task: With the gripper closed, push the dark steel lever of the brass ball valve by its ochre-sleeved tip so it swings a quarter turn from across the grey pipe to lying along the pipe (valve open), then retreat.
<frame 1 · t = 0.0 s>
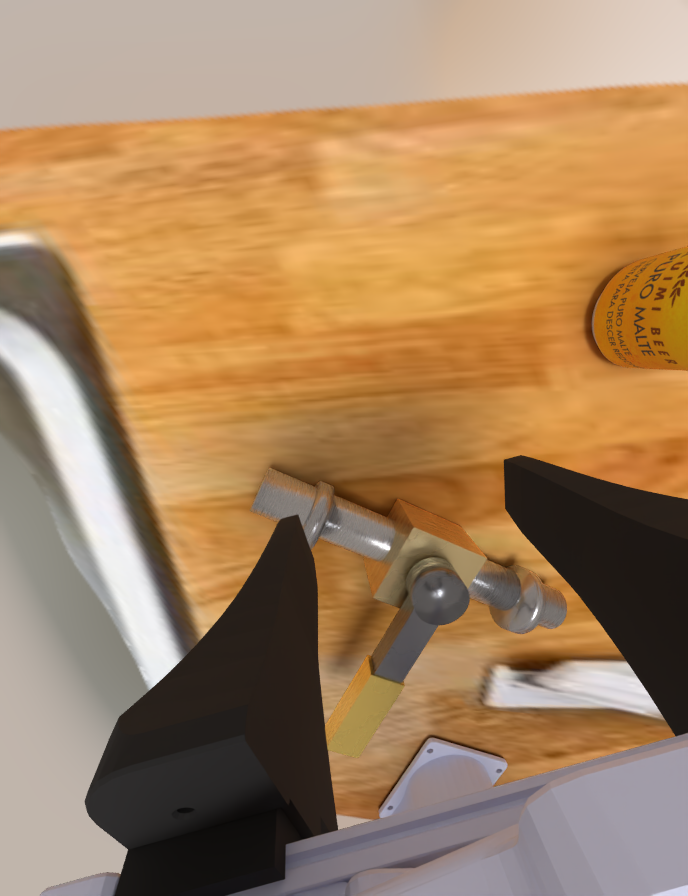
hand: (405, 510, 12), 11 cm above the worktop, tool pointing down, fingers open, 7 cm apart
lever: (392, 661, 21), point 5 cm above the worktop, hinge at 0.0°
valve body: (411, 542, 24), on the worktop
beer can: (627, 316, 22), on the worktop
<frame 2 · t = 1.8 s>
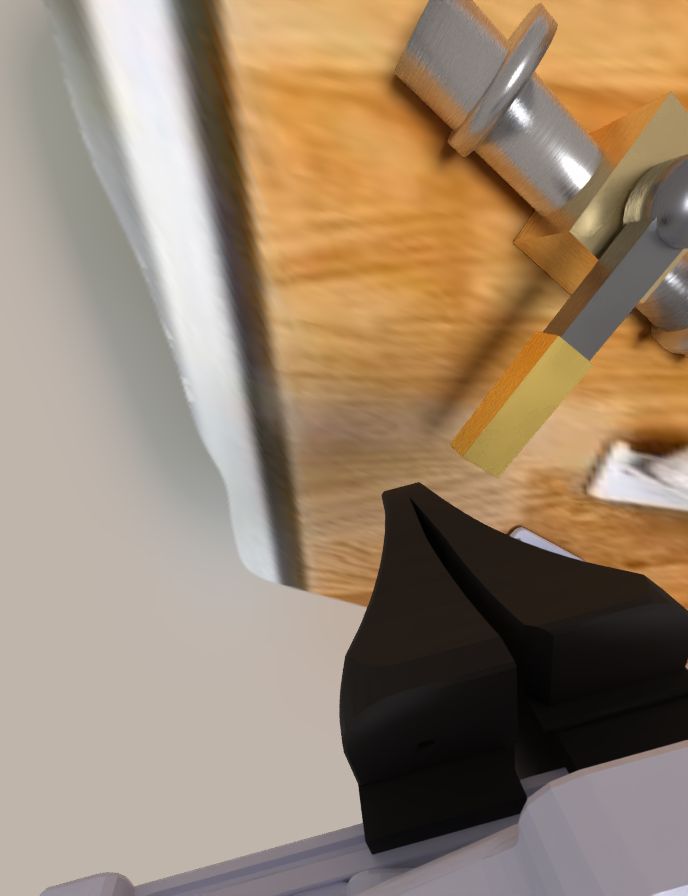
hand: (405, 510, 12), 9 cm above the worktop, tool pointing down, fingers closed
lever: (579, 331, 14), point 5 cm above the worktop, hinge at 0.0°
valve body: (581, 225, 17), on the worktop
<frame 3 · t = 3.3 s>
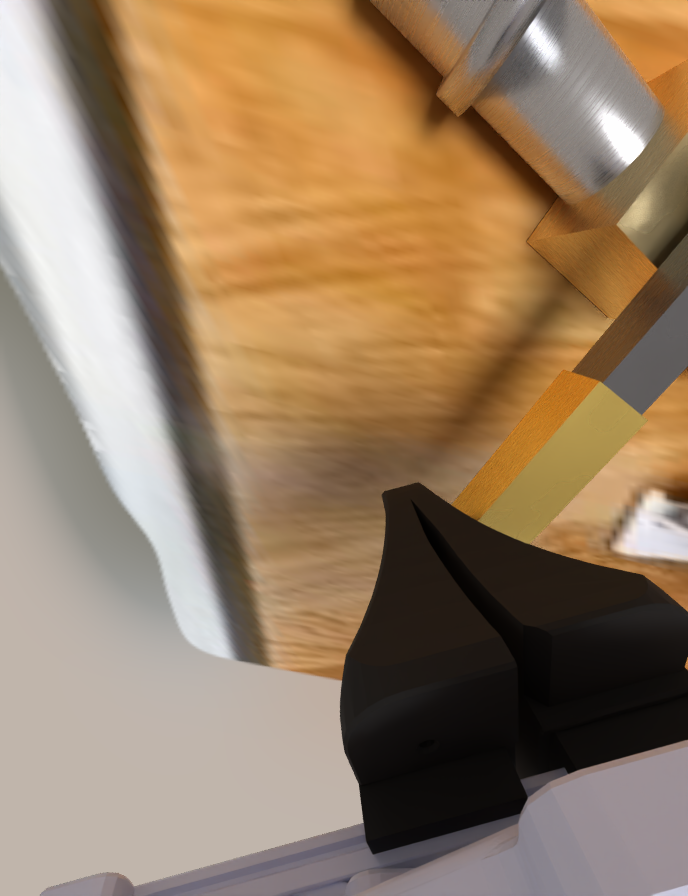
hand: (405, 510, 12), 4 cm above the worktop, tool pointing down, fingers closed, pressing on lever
lever: (627, 372, 10), point 5 cm above the worktop, hinge at 0.0°, touching gripper
valve body: (619, 218, 13), on the worktop
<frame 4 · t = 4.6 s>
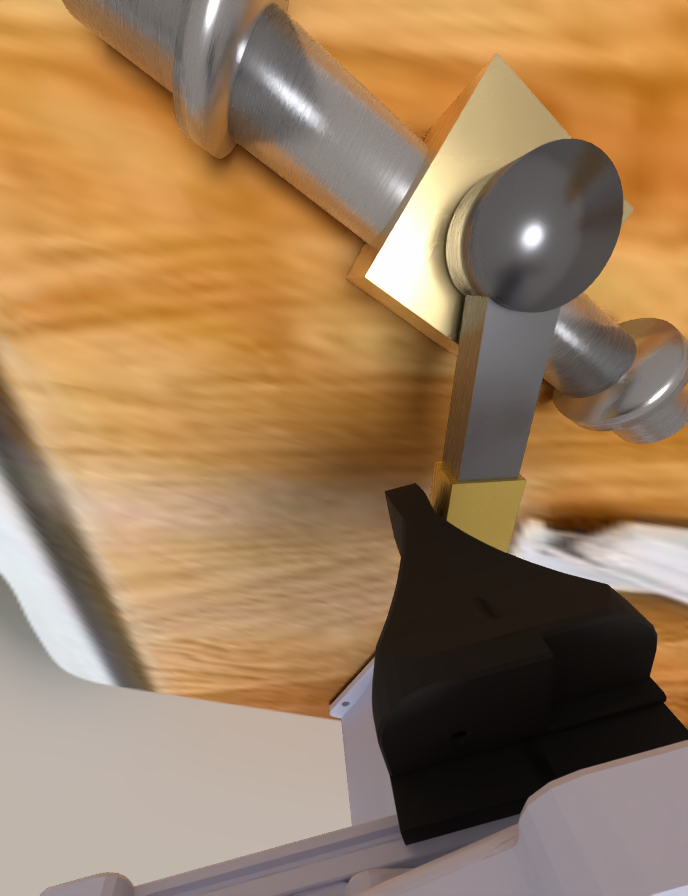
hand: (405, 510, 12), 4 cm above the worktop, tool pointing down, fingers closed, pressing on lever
lever: (484, 449, 10), point 5 cm above the worktop, hinge at 32.1°, touching gripper
valve body: (442, 254, 13), on the worktop
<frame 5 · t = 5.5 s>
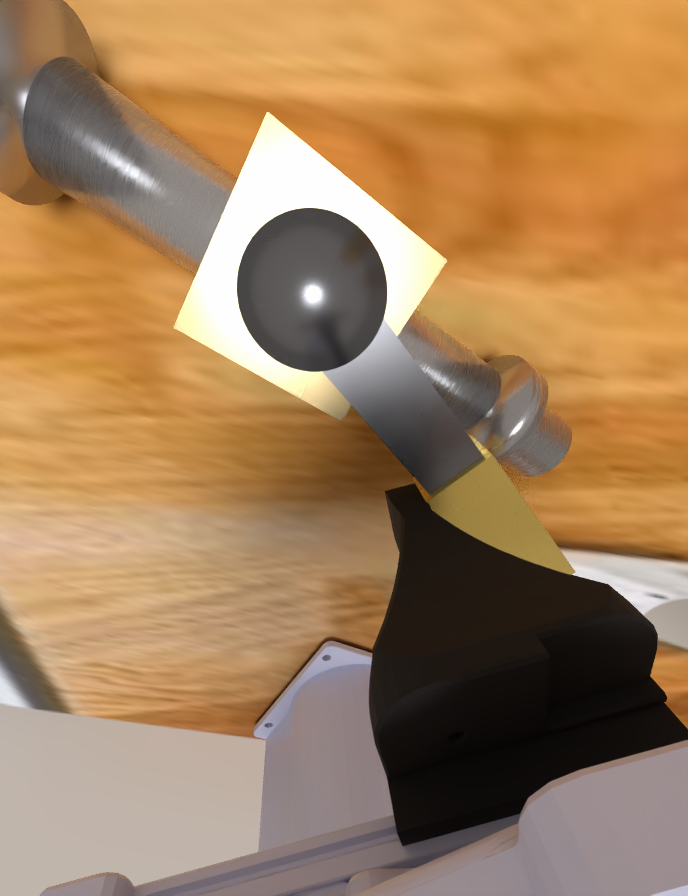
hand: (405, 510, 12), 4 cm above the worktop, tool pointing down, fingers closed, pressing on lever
lever: (436, 451, 10), point 5 cm above the worktop, hinge at 72.2°, touching gripper
valve body: (307, 290, 12), on the worktop
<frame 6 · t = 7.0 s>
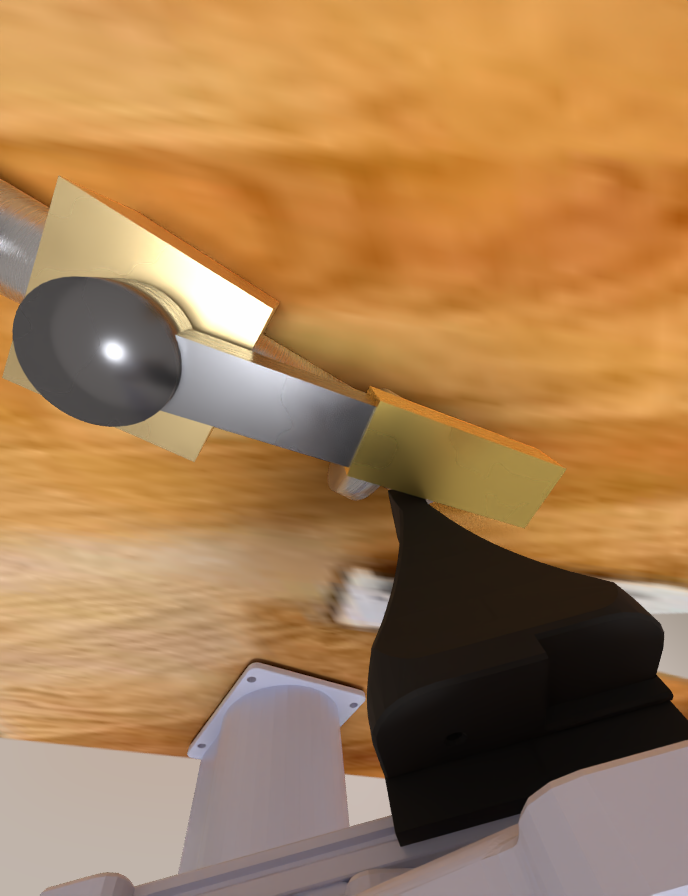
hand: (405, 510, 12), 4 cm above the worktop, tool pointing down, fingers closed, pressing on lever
lever: (333, 422, 9), point 5 cm above the worktop, hinge at 100.2°, touching gripper
valve body: (183, 326, 13), on the worktop
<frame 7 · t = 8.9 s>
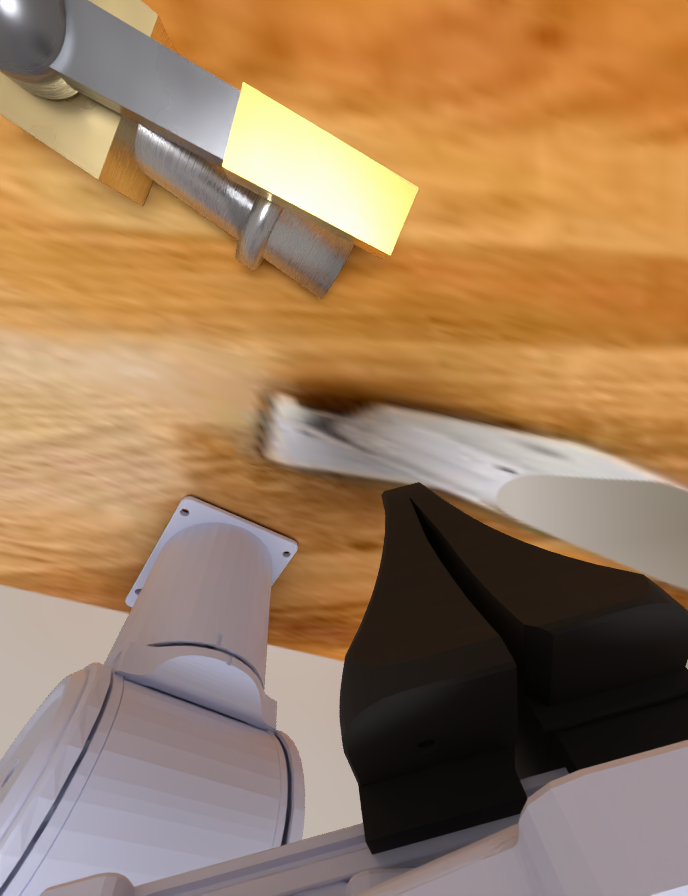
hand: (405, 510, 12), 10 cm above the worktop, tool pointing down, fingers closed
lever: (211, 120, 11), point 5 cm above the worktop, hinge at 100.3°
valve body: (104, 102, 14), on the worktop
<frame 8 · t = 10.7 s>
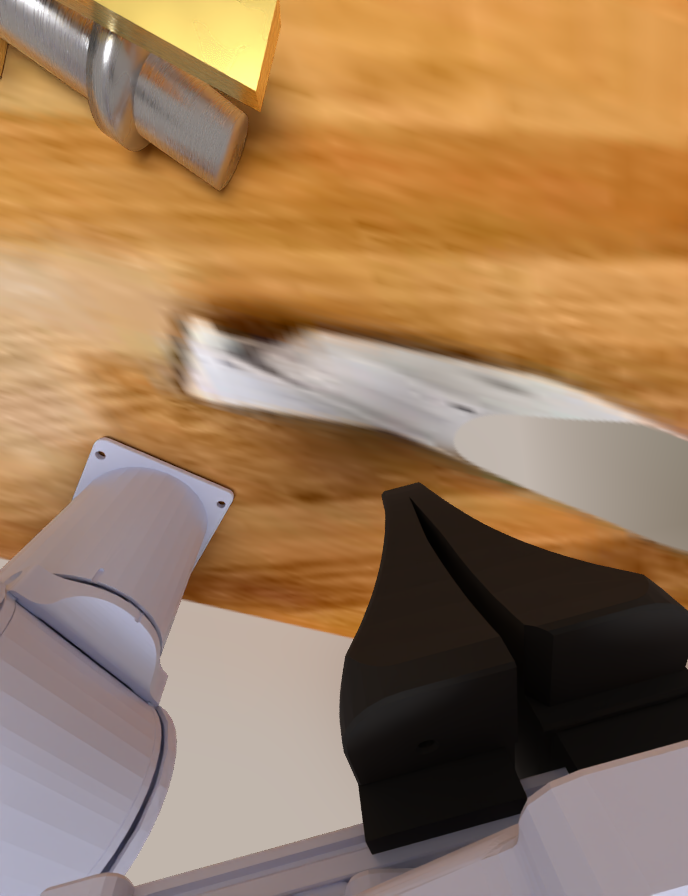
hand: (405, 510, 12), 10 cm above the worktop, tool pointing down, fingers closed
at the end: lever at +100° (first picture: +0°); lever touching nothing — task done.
